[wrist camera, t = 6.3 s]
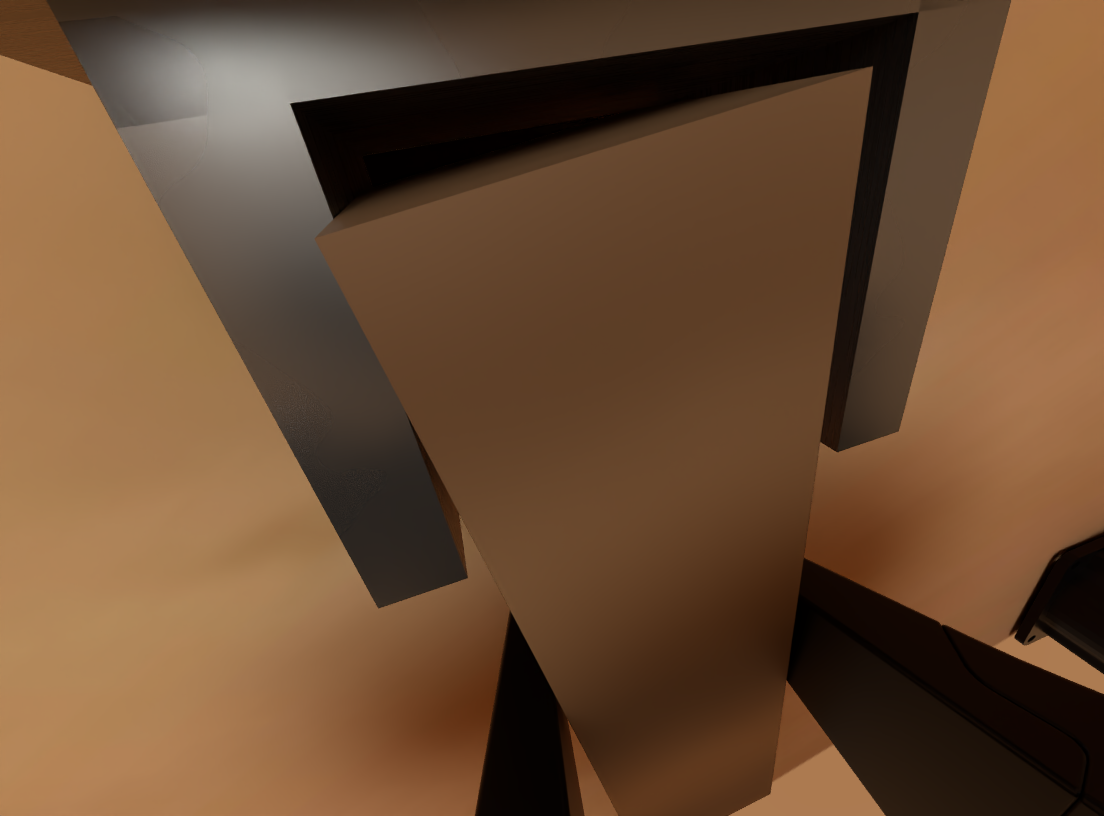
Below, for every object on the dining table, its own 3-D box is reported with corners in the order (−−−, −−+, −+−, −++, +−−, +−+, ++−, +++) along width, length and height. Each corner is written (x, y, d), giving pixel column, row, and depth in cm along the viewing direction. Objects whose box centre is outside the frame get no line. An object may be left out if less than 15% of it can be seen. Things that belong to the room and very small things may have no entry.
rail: (362, 190, 5) (315, 239, 2) (629, 110, 6) (872, 67, 3) (589, 705, 14) (642, 860, 11) (692, 657, 14) (770, 793, 11)
